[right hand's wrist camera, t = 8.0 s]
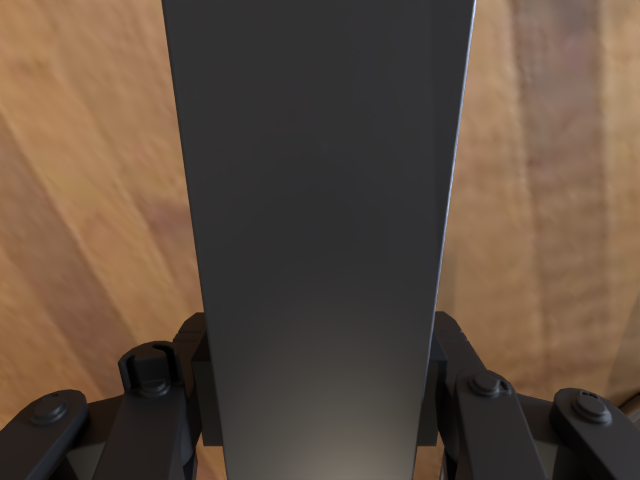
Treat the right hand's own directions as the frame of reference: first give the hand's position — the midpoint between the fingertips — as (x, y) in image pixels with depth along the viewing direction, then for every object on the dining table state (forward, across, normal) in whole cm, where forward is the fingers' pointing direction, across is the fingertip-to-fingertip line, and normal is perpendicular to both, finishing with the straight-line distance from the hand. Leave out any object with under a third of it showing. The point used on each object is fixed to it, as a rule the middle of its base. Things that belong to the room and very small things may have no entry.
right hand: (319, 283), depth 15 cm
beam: (+1, 0, -10) cm, 10 cm away
